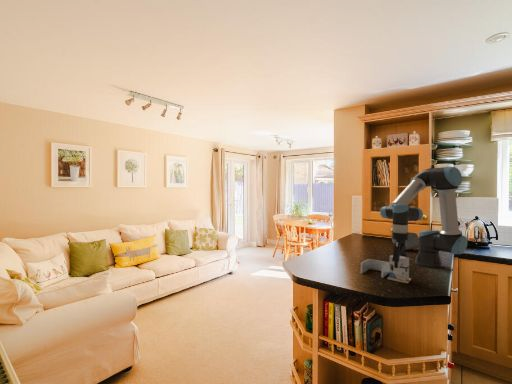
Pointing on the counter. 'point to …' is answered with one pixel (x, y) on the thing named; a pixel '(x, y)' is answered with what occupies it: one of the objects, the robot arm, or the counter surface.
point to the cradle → (375, 266)
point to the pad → (399, 280)
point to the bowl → (410, 241)
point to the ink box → (403, 268)
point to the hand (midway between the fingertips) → (399, 271)
